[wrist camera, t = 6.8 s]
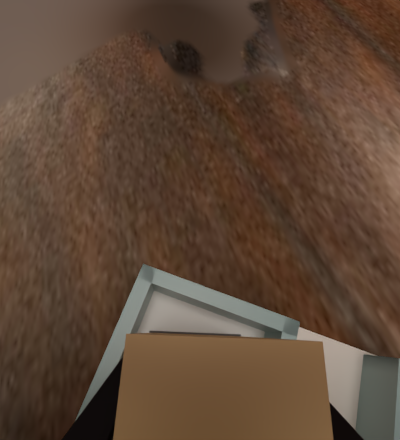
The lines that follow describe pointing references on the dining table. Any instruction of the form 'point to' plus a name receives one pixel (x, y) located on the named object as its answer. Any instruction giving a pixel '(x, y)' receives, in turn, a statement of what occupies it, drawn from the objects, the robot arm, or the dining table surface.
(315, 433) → the amber plug block
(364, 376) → the slot rack
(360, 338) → the dining table surface
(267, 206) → the dining table surface
